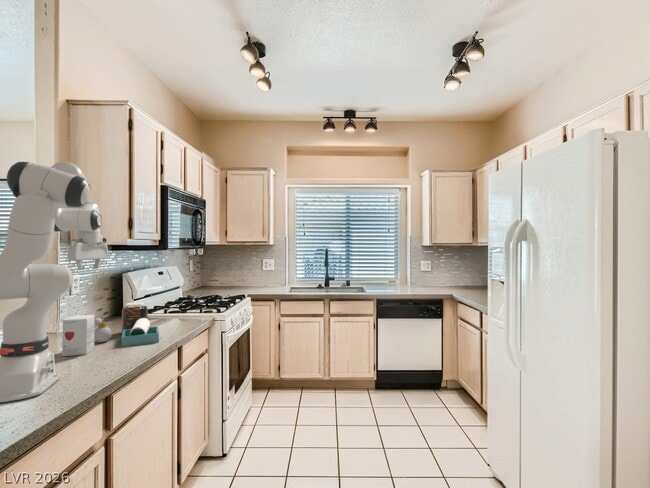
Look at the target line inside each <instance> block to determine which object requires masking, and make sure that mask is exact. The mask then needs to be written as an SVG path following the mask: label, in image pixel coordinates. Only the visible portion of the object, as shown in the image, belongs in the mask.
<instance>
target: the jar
mask: <svg viewBox="0 0 650 488" xmlns="http://www.w3.org/2000/svg"><path fill="white" fill-rule="evenodd" d="M148 309H149V308H148V306H147V305H145V302H143V301H135V302H128V303H125V307H122V310H121V334H123V330H125V329H132V328H133V327H134V325H135V323H136V322H137V320H139V319H141V318H147V319H148V320H149V317H148V316H149V314H148V313H149V312H148Z"/></svg>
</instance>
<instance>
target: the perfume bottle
mask: <svg viewBox="0 0 650 488" xmlns="http://www.w3.org/2000/svg"><path fill="white" fill-rule="evenodd" d="M94 327H97V328H95V329H94V342H96V343H99V344H100V343H105V342H108V341H109V340H110V339H111V338H112V334H113V333H112V330H111V328H109V327H108V326H107V322H106V321H105V319H104V316H101V318H100V317H96V318H95V319H94Z"/></svg>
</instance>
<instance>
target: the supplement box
mask: <svg viewBox="0 0 650 488" xmlns="http://www.w3.org/2000/svg"><path fill="white" fill-rule="evenodd" d="M94 319H95V314H87V315H86V314H85V315H83V314H80V315H71V316H68V317H66V318H64V319H63V320H62V349H61V350H62V353H61V354H62V355H61V356H62V357H70V356H71V357H72V356H81V355H82V356H83V355H88V354H90V353H91V351H93V350H94V349H95V340H94V331H95V326H94Z"/></svg>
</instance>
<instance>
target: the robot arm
mask: <svg viewBox="0 0 650 488" xmlns="http://www.w3.org/2000/svg"><path fill="white" fill-rule="evenodd" d="M6 183H7V186H8V188H9V190H10V191H11V192H12V195H13V197H14V198H15V199H14V202H13V203H12V207H11V211H10V214H9V219H8V226H7V234H6V241H5V245H4V247H3V249H2V251H1V252H0V301H3V300H4V301H5V300H13V299H14V300H17V299H26V302H25V303H24V304H23V305H22V306H21V307H19V308H16V309H15V310H13V311H11V312H9V313H8V314H6V316H5V317H4V318H3V321H2V342H1V343H0V403H6V402H13V401H18V400H23V399H28V398H32V397H35V396H39V395H41V394H42V393H43V392H45V391H46V390H47V389H49V388H50V387H51V386H53V384H55V383H56V382H57V381H58V380H60V379H61V378H62V374H61V373H56V366H55V363H56V362H55V354H54V353H53V352H52V351H50V349H49V344H50V340H49V336H48V320H49V314H50V311H51V308H52V307H53V305H54V303H55V302H56V301H57V300H58V299H59V298H60V297H61V296H62V295H63V294H65V293H66V292H67V291H69V289H70V288H71V286H72V284H73V281H74V276H73V275H74V274H73V272H72V271H71V269H70V268H69V267H68V266H67V265H65V264H58V263H56V264H55V263H33V262H36V261H37V260H39V259H42V258H44V257H46V256H47V255H48V254H49V253H50V252H51V250H52V247H53V239H54V232H58V233H59V232H76V238H73V239H72V240H71V241H70V243H69V246H68V252H67V258H68V260H69V261H75V264H76V266H77V271H84V270H85V266H84V265H83V261H85V260H86V261H87V260H94V264H93V265H92V267H93V270H98V269H100V265H101V262H102V260H103V259H106V258H107V257H108V253H109V252H108V241H109V240H108V239H109V238H107V237H105V236H103V235H101V230H100V228H101V227H102V215H101V213H100V208H99V205H98V204H97V203H94V202H88V201H89V199H90V196H91V189H92V188H91V185H90V183H89V182H88V180H87V178H86V176H85V174H84V172H83V171H82V170H81V169H80V167H78V166H77V165H76V164H75V163H73V162H70V161H59V162H56V163H54V164H53V165H51V167H50V166H46V165H41V164H37V163H36V164H35V163H34V162H29V161H17V162H15V163H14V164H12V165H11V166H10V167H9V169H8V170H7V174H6Z"/></svg>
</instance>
